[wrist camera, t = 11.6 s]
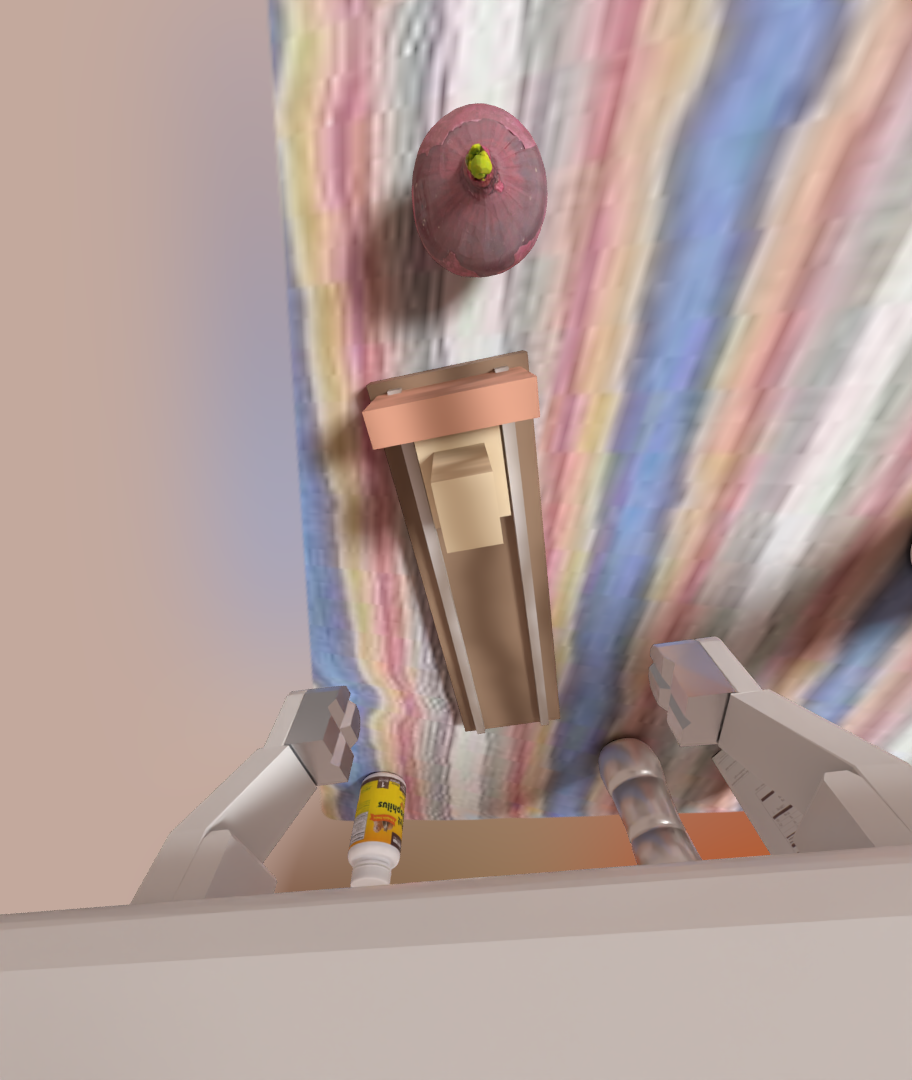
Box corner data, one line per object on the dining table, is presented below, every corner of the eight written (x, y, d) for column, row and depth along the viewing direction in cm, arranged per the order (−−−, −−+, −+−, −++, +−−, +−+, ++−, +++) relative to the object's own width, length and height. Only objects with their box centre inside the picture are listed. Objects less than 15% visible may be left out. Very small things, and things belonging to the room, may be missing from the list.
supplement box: (708, 758, 47) (827, 957, 32) (760, 710, 43) (924, 915, 28) (772, 771, 49) (912, 966, 34) (828, 726, 44) (1016, 927, 30)
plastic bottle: (582, 758, 46) (663, 1021, 29) (612, 724, 43) (724, 995, 26) (628, 768, 48) (732, 1026, 30) (661, 735, 44) (798, 1002, 27)
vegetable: (402, 165, 20) (367, 45, 11) (519, 124, 19) (577, -36, 11) (435, 298, 23) (427, 284, 14) (537, 266, 22) (594, 232, 14)
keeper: (493, 411, 25) (511, 446, 18) (505, 496, 28) (524, 556, 21) (416, 426, 25) (405, 467, 18) (436, 509, 28) (432, 571, 21)
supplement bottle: (416, 782, 48) (408, 887, 39) (384, 799, 50) (371, 902, 41) (383, 763, 46) (368, 869, 37) (352, 781, 48) (330, 886, 39)
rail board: (522, 350, 24) (545, 359, 19) (556, 706, 42) (573, 767, 36) (370, 382, 25) (348, 400, 20) (464, 718, 42) (467, 780, 37)
